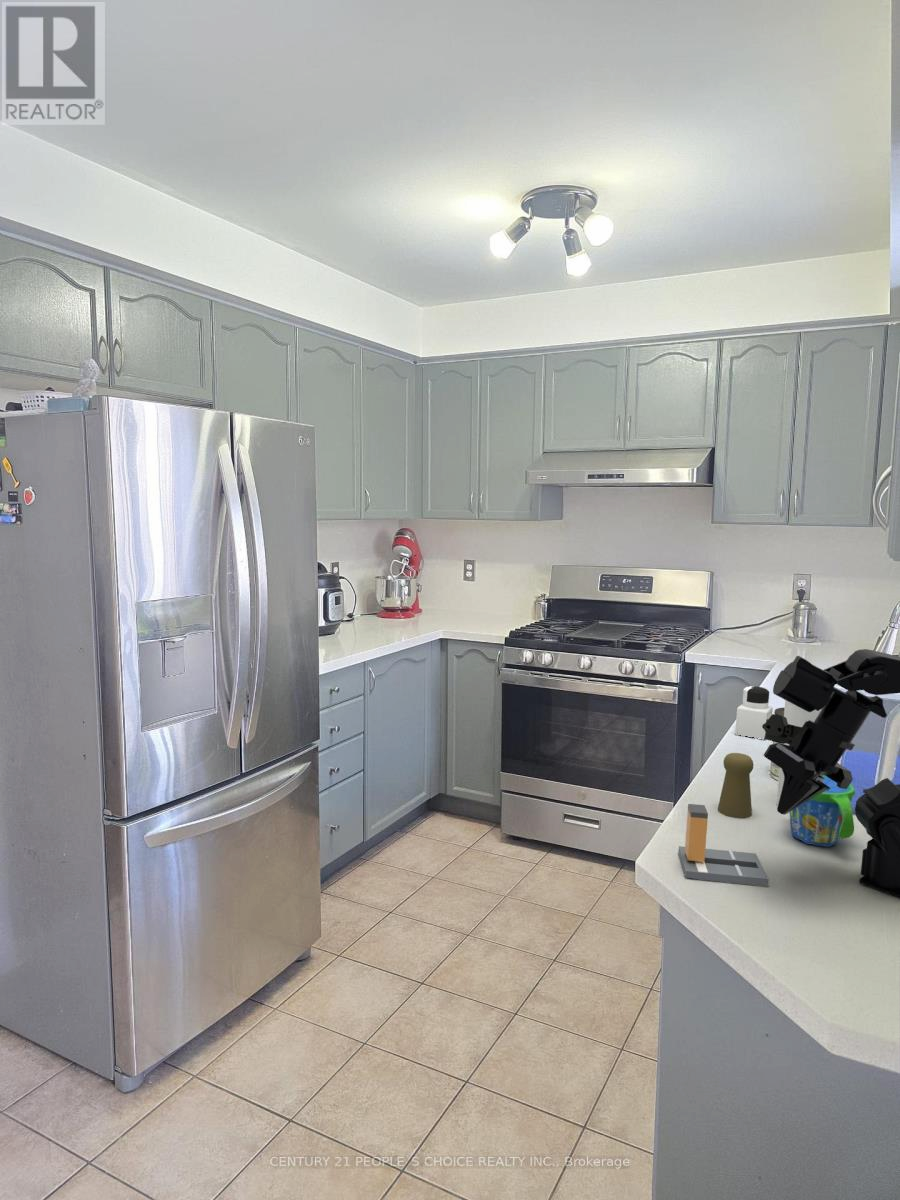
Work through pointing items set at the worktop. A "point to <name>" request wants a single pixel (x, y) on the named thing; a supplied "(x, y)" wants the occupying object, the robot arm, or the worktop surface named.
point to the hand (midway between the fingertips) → (780, 812)
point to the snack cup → (824, 816)
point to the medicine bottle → (753, 712)
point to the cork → (736, 786)
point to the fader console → (725, 867)
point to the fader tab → (696, 832)
